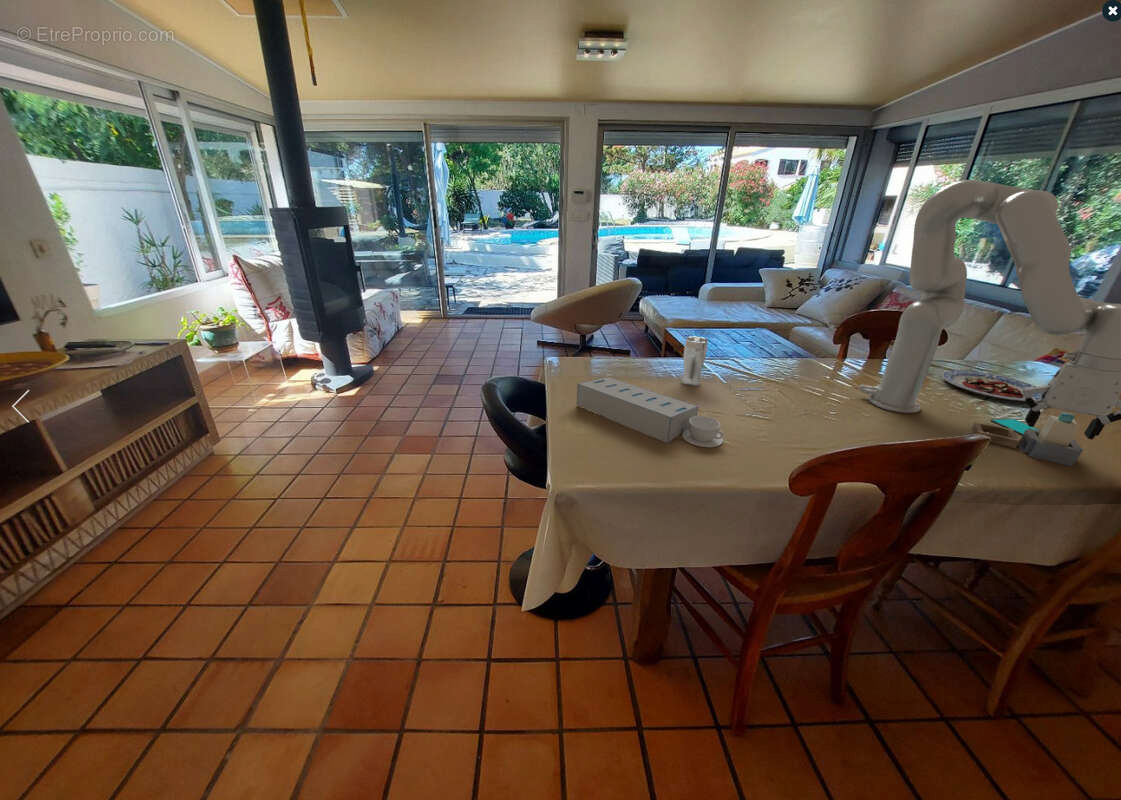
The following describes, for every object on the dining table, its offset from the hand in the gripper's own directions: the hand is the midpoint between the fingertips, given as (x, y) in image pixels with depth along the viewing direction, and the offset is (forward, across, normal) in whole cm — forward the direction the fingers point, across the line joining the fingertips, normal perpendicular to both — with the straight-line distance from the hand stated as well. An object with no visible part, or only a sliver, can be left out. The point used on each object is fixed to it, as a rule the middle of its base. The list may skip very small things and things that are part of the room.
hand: (1058, 430), depth 99 cm
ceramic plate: (+7, -4, +47) cm, 48 cm away
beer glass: (+6, -85, -9) cm, 86 cm away
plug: (+6, 0, 0) cm, 6 cm away
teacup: (+7, -69, -43) cm, 82 cm away
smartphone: (+7, 0, +12) cm, 14 cm away
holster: (+6, -9, +3) cm, 11 cm away
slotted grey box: (+7, -89, -42) cm, 99 cm away
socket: (+6, 0, 0) cm, 6 cm away
